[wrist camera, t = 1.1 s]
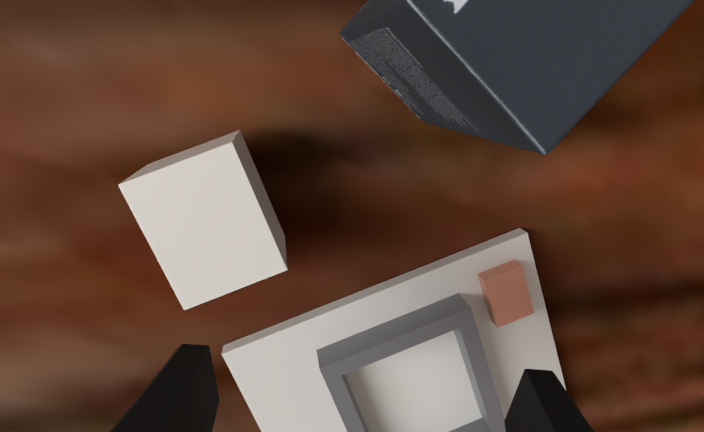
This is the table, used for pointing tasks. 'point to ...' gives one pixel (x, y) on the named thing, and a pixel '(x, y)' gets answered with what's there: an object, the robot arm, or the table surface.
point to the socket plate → (406, 350)
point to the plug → (208, 219)
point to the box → (506, 59)
